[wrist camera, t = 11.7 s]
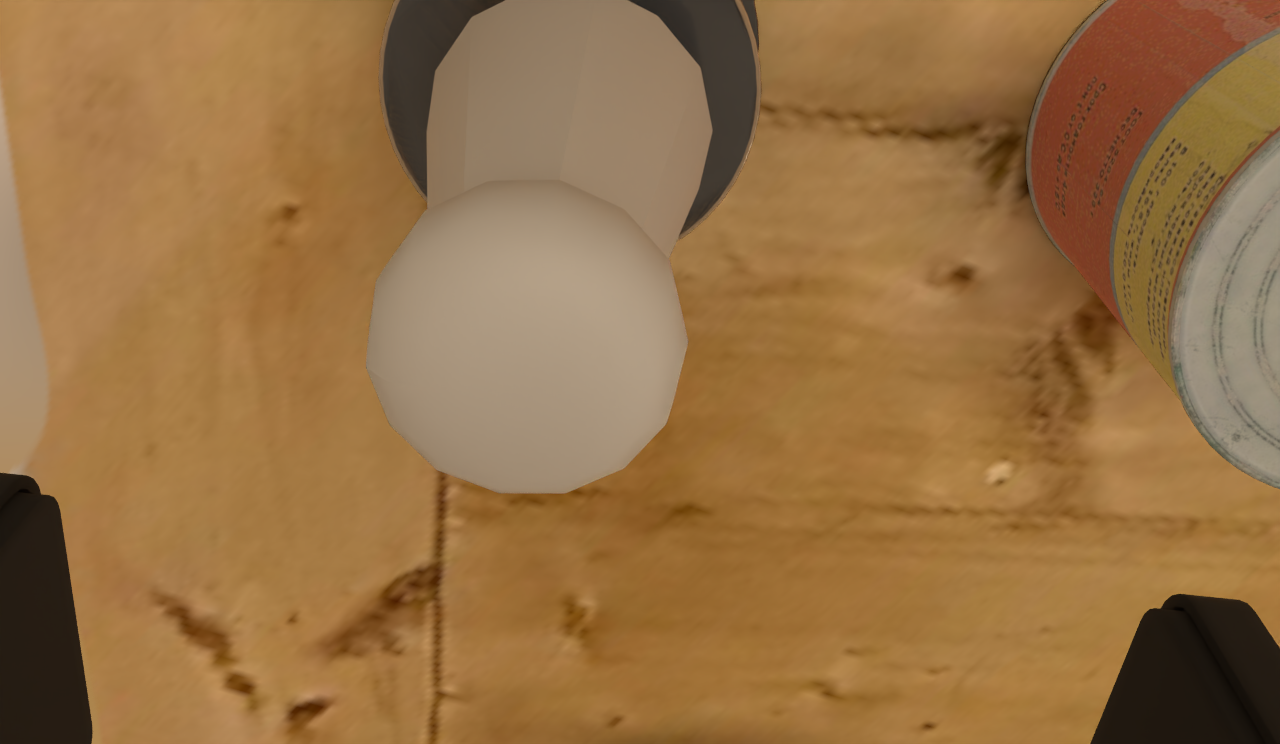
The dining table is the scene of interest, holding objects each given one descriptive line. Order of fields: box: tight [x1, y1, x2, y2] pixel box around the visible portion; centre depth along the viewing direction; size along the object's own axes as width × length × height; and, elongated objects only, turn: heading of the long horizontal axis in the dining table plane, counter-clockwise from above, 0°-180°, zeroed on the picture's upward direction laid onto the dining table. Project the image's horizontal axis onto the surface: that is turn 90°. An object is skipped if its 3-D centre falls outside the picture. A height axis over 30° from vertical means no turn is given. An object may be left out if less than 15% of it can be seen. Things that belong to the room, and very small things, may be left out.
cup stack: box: [378, 0, 762, 242], centre depth 31 cm, size 9×9×10 cm
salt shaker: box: [366, 0, 713, 493], centre depth 21 cm, size 6×6×13 cm
